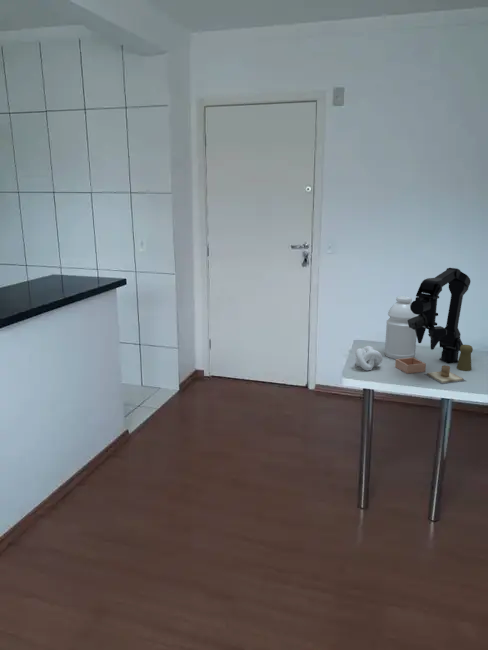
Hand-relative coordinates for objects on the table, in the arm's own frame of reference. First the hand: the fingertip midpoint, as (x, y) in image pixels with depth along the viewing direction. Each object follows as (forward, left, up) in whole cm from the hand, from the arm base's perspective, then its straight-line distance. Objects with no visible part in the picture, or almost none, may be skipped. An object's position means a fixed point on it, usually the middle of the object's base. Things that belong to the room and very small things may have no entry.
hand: (425, 346), depth 219 cm
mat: (-5, +8, -12) cm, 15 cm away
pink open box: (+3, -5, -12) cm, 14 cm away
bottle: (-4, -24, -12) cm, 28 cm away
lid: (-5, +8, -12) cm, 15 cm away
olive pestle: (-20, +1, -12) cm, 24 cm away
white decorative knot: (+20, -13, -13) cm, 27 cm away
